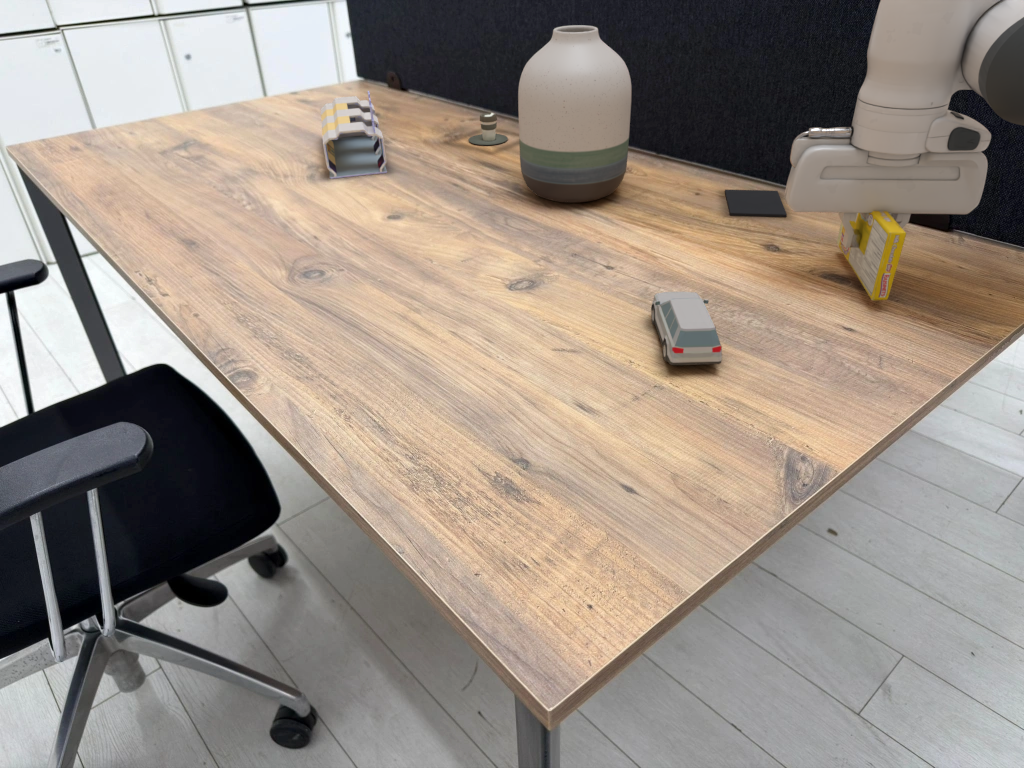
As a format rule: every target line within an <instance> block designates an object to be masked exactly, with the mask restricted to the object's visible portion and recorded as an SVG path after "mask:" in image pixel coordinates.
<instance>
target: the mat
mask: <svg viewBox="0 0 1024 768" xmlns="http://www.w3.org/2000/svg"><path fill="white" fill-rule="evenodd" d="M724 194H725V195H724V196H725V198H726V199H725V200H726V203H727V209H728V212H729V216H738V217H739V216H740V217H769V218H771V217H772V218H775V217H776V218H787V216H788V214H787V211H786V208H785V207H784V203H783V201H782V199H781V196H780V194H779V191H778V190H766V189H765V190H762V189H761V190H758V189H757V190H756V189H724Z"/></svg>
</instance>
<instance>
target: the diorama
mask: <svg viewBox="0 0 1024 768" xmlns="http://www.w3.org/2000/svg"><path fill="white" fill-rule="evenodd" d="M367 98H368V99H360V98H359V97H358V96H357V95H352V96H341V97H334V99H333V100H332V102H328V103H325V104H324V105H322V107H321V108H320V120H321V137H322V147H323V154H324V159H325V163H326V169H327V170H328V171H329V172H328V173H329V179H342V178H350V177H360V176H361V177H362V176H371V175H380V174H387V173H388V171H387V166H386V164H387V154H386V146H385V139H384V136H383V132H382V130H381V129H380V123H379V119H378V116H377V115H376V109H375V106H374V103H372V99H371V93H370V90H367Z"/></svg>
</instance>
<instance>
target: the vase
mask: <svg viewBox="0 0 1024 768" xmlns="http://www.w3.org/2000/svg"><path fill="white" fill-rule="evenodd" d="M632 91H633V90H632V79H631V75H630V72H629V68H628V67H627V65H626V62H625V61H624V59H623V58H622V57H621V55H619V54H618V53H617V52H616V51H615V50H613V48H612V47H610V46H608V44H607V43H605V42H604V41H603V40H602V39H601V37H600V33H599V28H598V27H597V26H593V25H584V24H583V25H582V24H581V25H580V24H579V25H578V24H577V25H576V24H572V25H562V26H557V27H554V29H553V30H552V35H551V38H550V40H549V41H548V42H547V43H546V44H545V45H544V46H542V48H540V49H539V50H537V52H535V53H534V54H533V55H532V56H531V57H530V58H529V59H528V61H527V62H526V63H525V65H524V67H523V70H522V72H521V75H520V78H519V82H518V91H517V92H518V93H517V101H518V102H517V105H518V107H517V109H518V111H517V112H518V138H519V139H518V144H519V163H520V164H519V165H520V166H519V167H520V172H521V176H522V178H523V181H524V183H525V185H526V186H527V188H528V189H529V191H531V192H532V193H533V194H534V195H536V196H538V197H540V198H542V199H545V200H548V201H553V202H557V203H558V202H559V203H568V204H569V203H574V204H575V203H586V202H593V201H597V200H600V199H603V198H606V197H607V196H610V195H611V194H613V193H614V192H615V191H616V190H617V189H618V188H619V187H620V185H621V183H622V182H623V179H624V177H625V174H626V172H627V166H628V157H629V143H630V142H629V141H630V126H631V124H630V123H631V114H632V113H631V111H632Z"/></svg>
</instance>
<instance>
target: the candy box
mask: <svg viewBox="0 0 1024 768" xmlns="http://www.w3.org/2000/svg"><path fill="white" fill-rule="evenodd" d="M849 222H850V224H851V227H852V229H859V231H860V233H861V235H862V236H861V240H860V241H859V247H858V248H846V247H844V245H843V238H844V233H845V229H844V226H843V224H842V222H841V221H840V226H839V230H838V235H837V238H836V245H837V246H838V248H839V249H840V251H841V253H842V254H843V256H844V258H845V259H846V261H847V263H848V264H849V265H850V268H851V269H852V271H853V272H854V274H855V275H856V277H857V278H858V281H859V282H860V283H861V286H862V287H863V289H864V290H865V292H866V293H867V295H868V297H869V298H870V300H871V301H873V302H874V301H875V302H876V301H888V299H889V296H890V294H891V293H890V292H891V289H892V286H893V282H894V279H895V276H896V272H897V268H898V266H899V263H900V258H901V255H902V251H903V248H904V244H905V240H906V236H907V232H906V231H905V230H904V228H901V227H900V226H899V224H898V223H897V222H896V221H895V220H894V217H893V216H892V214H891V213H888V212H887V211H873V212H872V213H857V214H856V218H855V221H849Z"/></svg>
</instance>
